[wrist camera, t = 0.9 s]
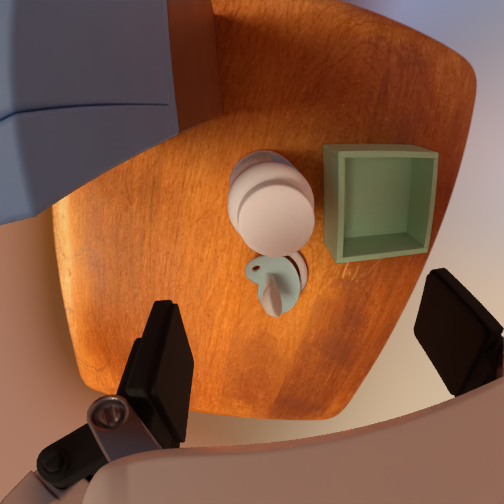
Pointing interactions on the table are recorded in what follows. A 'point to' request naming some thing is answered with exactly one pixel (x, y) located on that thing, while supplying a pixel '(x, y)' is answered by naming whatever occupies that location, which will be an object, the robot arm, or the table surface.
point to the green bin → (378, 200)
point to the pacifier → (277, 281)
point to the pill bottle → (270, 204)
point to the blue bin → (96, 89)
